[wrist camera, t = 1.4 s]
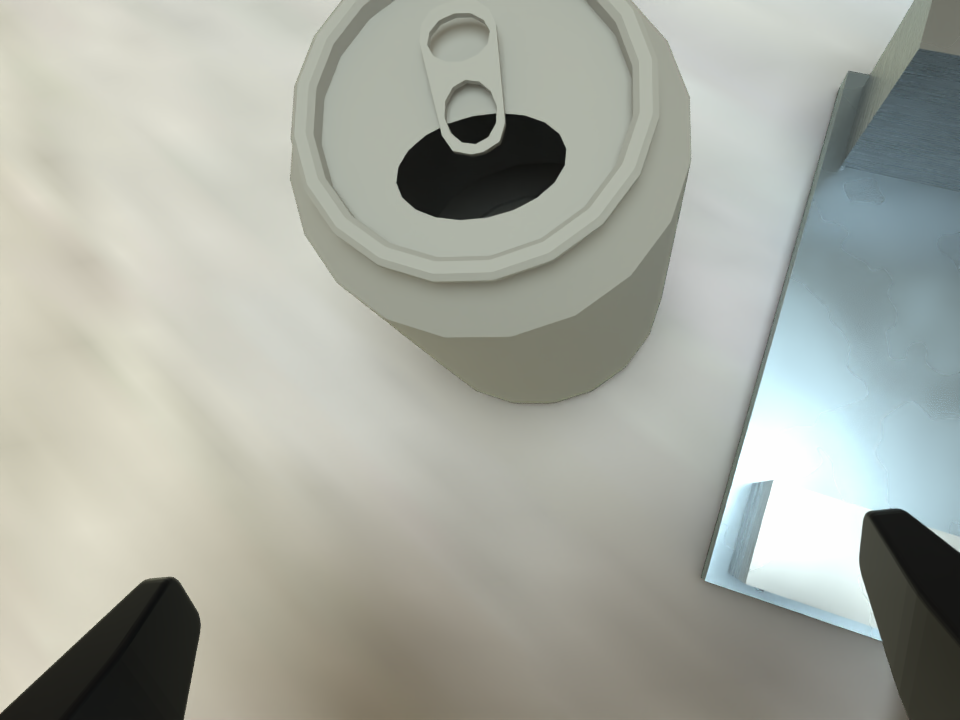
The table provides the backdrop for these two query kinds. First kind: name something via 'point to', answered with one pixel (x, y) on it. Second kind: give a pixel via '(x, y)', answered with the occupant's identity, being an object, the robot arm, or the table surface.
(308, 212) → the can
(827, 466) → the vise
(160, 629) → the robot arm
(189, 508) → the table surface
